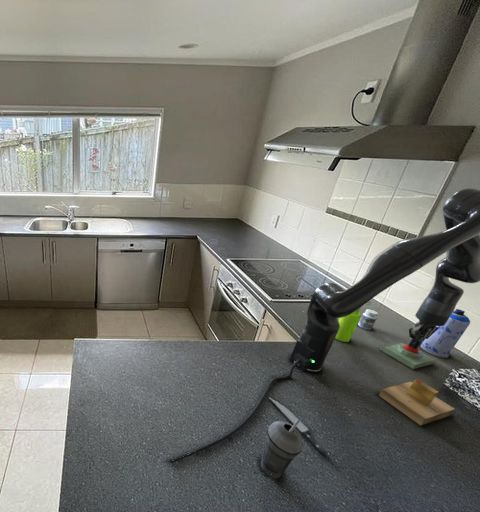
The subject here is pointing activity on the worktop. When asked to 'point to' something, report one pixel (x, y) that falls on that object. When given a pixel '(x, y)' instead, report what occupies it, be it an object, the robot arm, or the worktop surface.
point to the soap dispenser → (348, 325)
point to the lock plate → (415, 405)
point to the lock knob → (422, 392)
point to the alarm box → (408, 356)
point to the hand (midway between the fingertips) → (412, 347)
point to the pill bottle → (368, 319)
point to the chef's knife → (298, 425)
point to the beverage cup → (280, 447)
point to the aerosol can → (447, 335)
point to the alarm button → (411, 349)
